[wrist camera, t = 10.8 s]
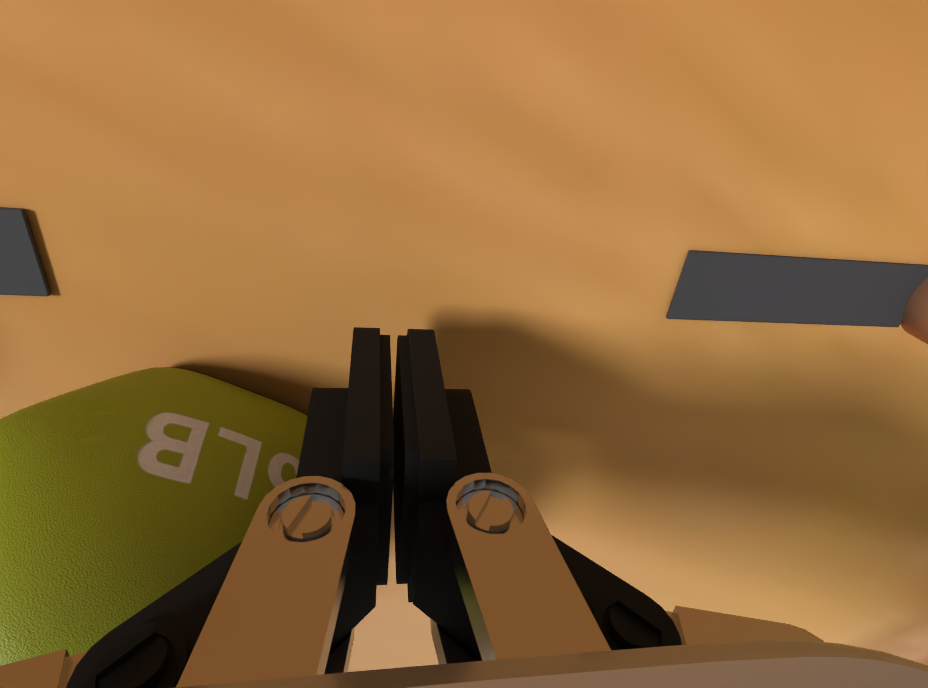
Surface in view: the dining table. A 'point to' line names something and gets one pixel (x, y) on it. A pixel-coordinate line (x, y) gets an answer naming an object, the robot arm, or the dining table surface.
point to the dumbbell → (127, 498)
